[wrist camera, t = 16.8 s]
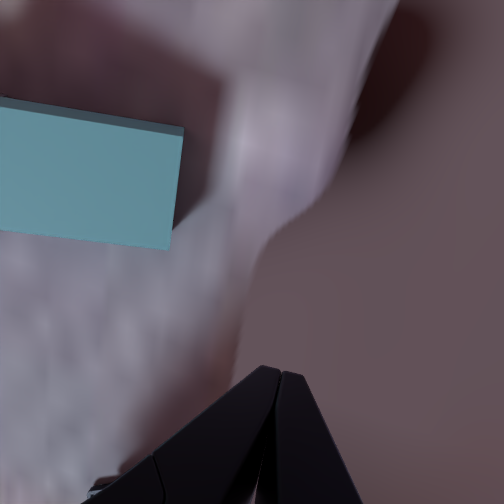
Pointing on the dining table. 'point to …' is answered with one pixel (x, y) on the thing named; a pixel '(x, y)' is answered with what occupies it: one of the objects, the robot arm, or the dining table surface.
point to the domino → (87, 175)
